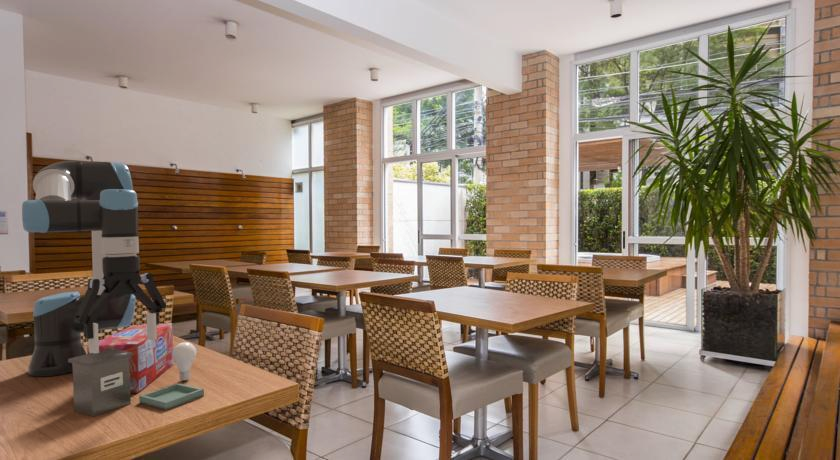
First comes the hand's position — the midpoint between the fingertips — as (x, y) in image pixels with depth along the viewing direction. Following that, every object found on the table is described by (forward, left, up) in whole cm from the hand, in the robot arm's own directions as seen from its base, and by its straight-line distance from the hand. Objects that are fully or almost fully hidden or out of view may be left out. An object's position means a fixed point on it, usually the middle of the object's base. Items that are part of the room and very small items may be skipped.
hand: (124, 345), depth 117 cm
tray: (+1, +11, -17) cm, 20 cm away
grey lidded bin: (-10, 0, -17) cm, 20 cm away
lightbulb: (-9, +22, -17) cm, 29 cm away
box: (-24, +17, -17) cm, 34 cm away
